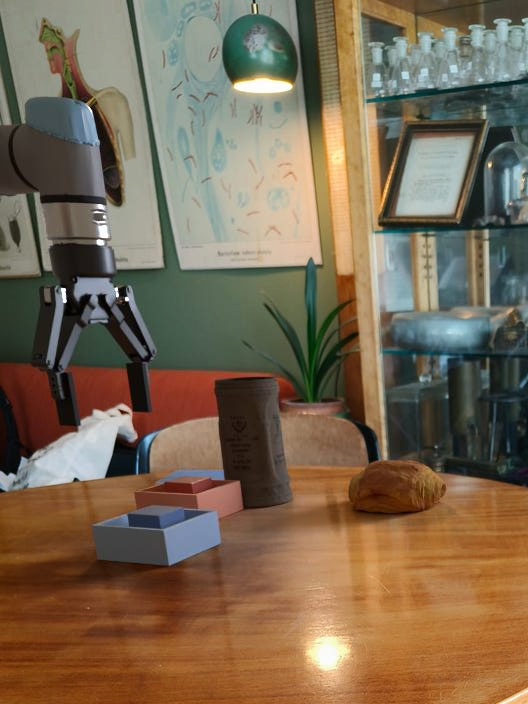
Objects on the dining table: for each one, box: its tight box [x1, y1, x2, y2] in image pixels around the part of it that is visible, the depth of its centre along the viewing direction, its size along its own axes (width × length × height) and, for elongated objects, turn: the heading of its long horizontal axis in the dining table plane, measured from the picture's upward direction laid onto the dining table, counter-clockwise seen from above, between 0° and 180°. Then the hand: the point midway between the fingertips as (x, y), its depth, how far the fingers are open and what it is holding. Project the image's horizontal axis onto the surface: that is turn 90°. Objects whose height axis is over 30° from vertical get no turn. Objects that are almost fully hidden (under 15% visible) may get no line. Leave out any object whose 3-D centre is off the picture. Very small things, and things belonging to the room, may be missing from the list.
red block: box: [164, 476, 213, 494], centre depth 136 cm, size 5×5×5 cm
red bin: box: [133, 479, 244, 520], centre depth 136 cm, size 11×11×5 cm
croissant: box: [347, 459, 447, 514], centre depth 139 cm, size 14×16×8 cm
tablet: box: [154, 469, 225, 485], centre depth 162 cm, size 19×13×1 cm, turn 88°
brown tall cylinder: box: [213, 376, 294, 509], centre depth 145 cm, size 15×11×20 cm
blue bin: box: [90, 508, 222, 567], centre depth 117 cm, size 11×11×5 cm
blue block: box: [126, 505, 185, 529], centre depth 116 cm, size 5×5×5 cm
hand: (108, 418), depth 117 cm, fingers open, 13 cm apart
